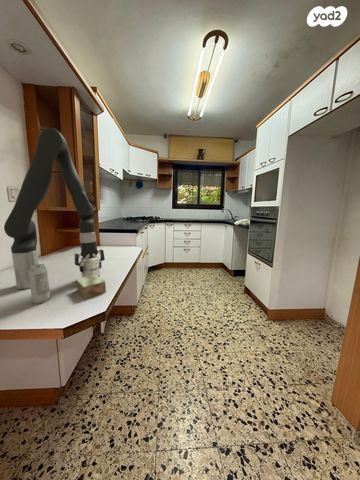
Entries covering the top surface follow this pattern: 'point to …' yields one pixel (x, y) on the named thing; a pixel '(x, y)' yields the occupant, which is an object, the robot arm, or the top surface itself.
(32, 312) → the top surface
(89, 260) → the ink box
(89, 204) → the robot arm
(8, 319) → the top surface
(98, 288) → the stand
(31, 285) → the energy drink can
